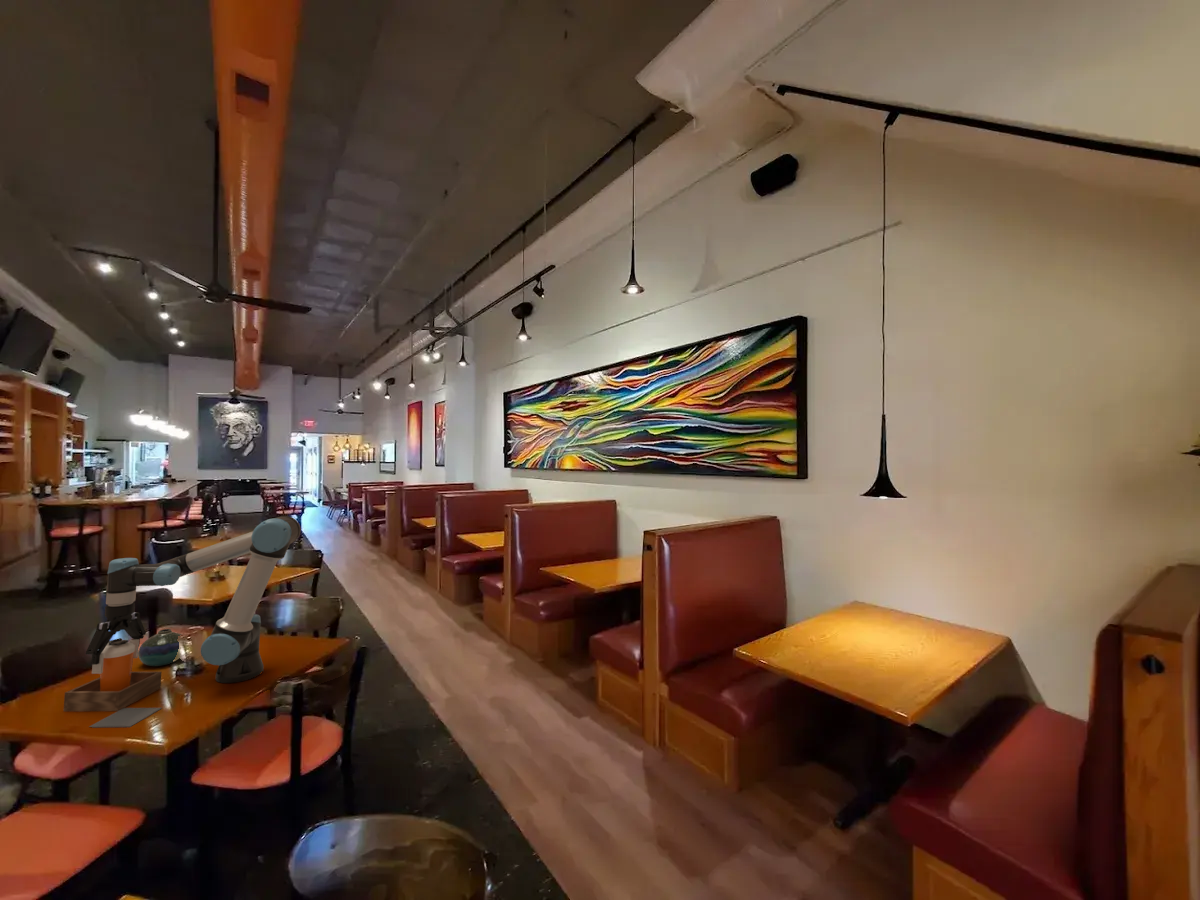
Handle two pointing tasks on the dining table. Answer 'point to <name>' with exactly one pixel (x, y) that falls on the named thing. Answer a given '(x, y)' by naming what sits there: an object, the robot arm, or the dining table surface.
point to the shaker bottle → (117, 665)
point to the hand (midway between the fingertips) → (115, 665)
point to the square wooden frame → (111, 693)
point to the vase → (159, 648)
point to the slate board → (125, 717)
